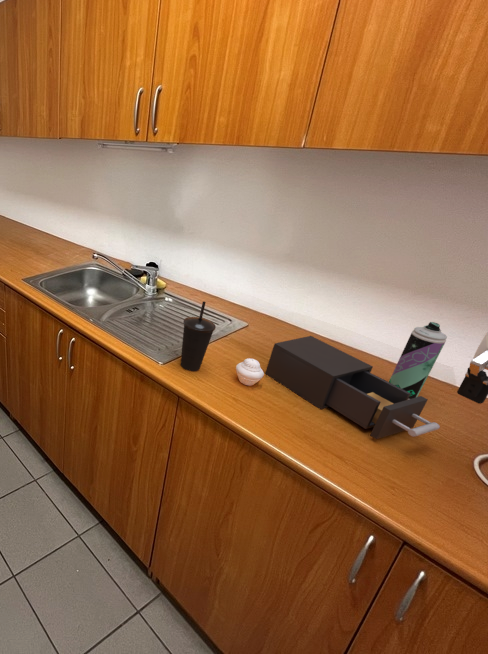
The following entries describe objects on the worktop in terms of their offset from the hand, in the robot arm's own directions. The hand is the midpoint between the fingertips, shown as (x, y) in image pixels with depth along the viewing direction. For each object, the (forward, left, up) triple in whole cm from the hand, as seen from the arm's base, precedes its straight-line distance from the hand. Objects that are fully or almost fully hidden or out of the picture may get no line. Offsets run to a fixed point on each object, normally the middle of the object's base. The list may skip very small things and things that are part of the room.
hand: (487, 393), depth 71 cm
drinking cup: (+42, +23, -18) cm, 52 cm away
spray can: (+17, -18, -18) cm, 31 cm away
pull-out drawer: (+13, 0, -17) cm, 22 cm away
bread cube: (+13, 0, -16) cm, 21 cm away
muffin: (+32, +14, -18) cm, 40 cm away
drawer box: (+26, 0, -18) cm, 32 cm away
